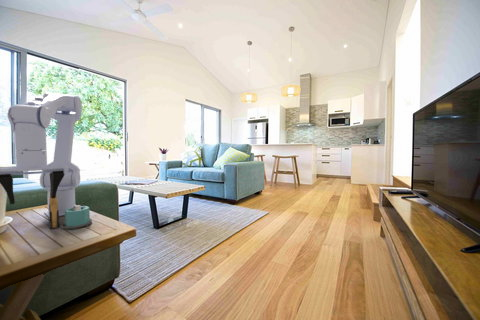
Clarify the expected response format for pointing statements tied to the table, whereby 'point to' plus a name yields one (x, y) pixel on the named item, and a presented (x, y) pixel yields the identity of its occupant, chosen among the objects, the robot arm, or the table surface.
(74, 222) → the collar
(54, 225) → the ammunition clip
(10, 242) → the table surface
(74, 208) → the dark round peg base
